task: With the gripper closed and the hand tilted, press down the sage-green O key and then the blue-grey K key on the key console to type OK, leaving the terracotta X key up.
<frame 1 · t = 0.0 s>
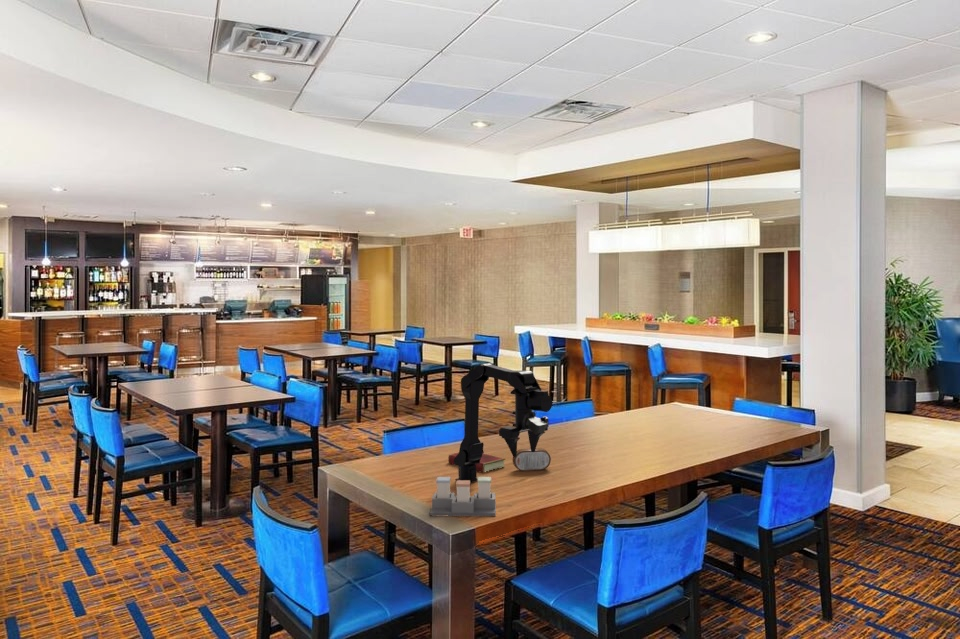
hand: (523, 454, 222), 15 cm above the table, tool pointing down, fingers open, 9 cm apart
key K: (443, 489, 211), point 6 cm above the table, slide at 0.0 cm
key O: (484, 489, 211), point 6 cm above the table, slide at 0.0 cm
tin: (531, 470, 257), on the table
key console: (464, 508, 211), on the table
hardcover book: (476, 466, 265), on the table
key X: (463, 493, 207), point 6 cm above the table, slide at 0.0 cm
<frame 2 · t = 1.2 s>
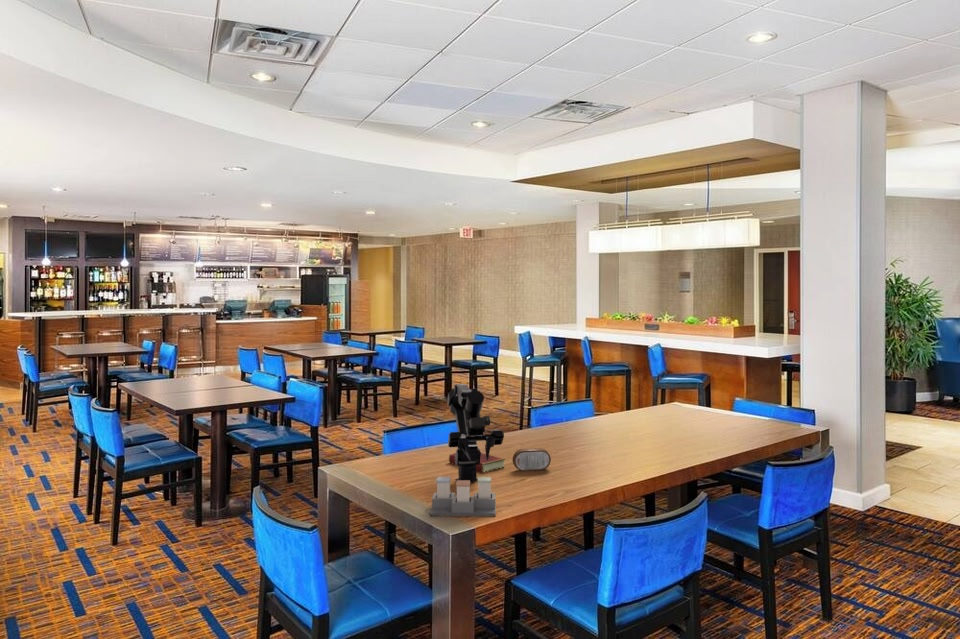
hand: (479, 460, 219), 14 cm above the table, tool tilted 45°, fingers open, 5 cm apart
nothing on the table moved.
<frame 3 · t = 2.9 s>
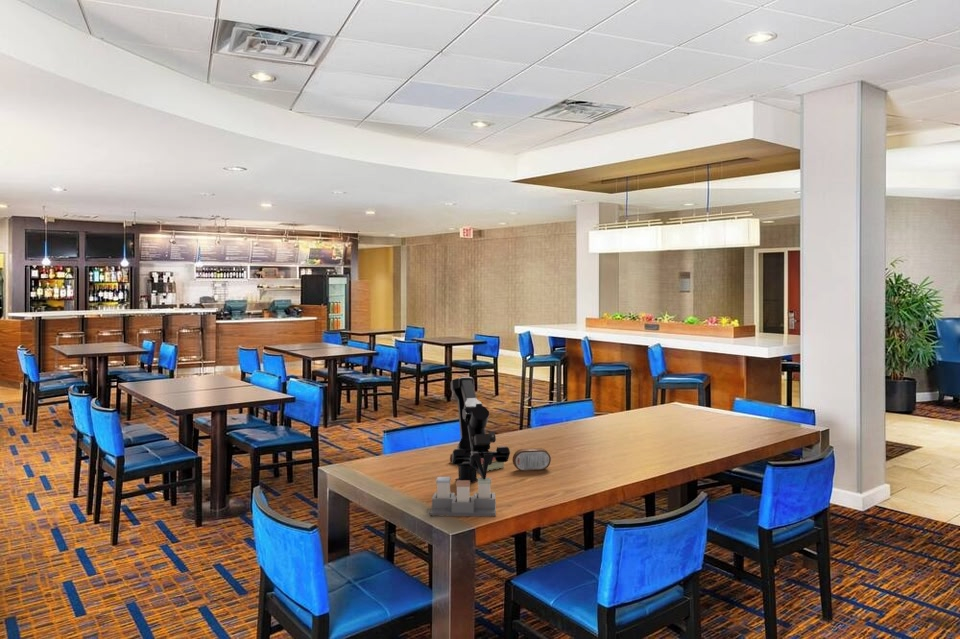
hand: (484, 478, 211), 10 cm above the table, tool tilted 45°, fingers closed, pressing on key O
key O: (484, 490, 211), point 6 cm above the table, slide at 0.2 cm, touching gripper
everything else where it was.
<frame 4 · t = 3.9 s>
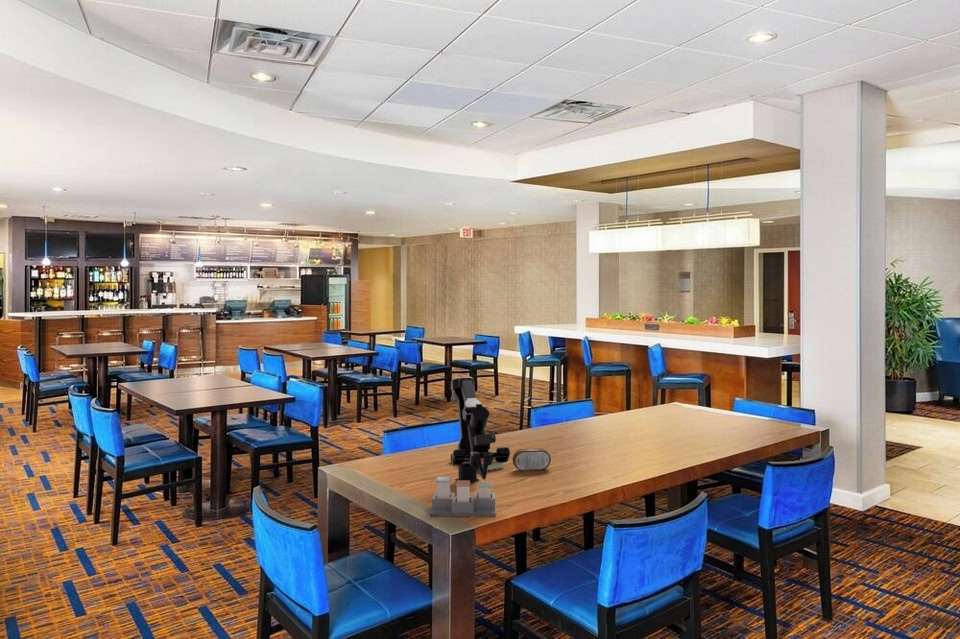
hand: (484, 478, 211), 10 cm above the table, tool tilted 45°, fingers closed
key O: (484, 494, 211), point 5 cm above the table, slide at 1.6 cm
everything else where it was.
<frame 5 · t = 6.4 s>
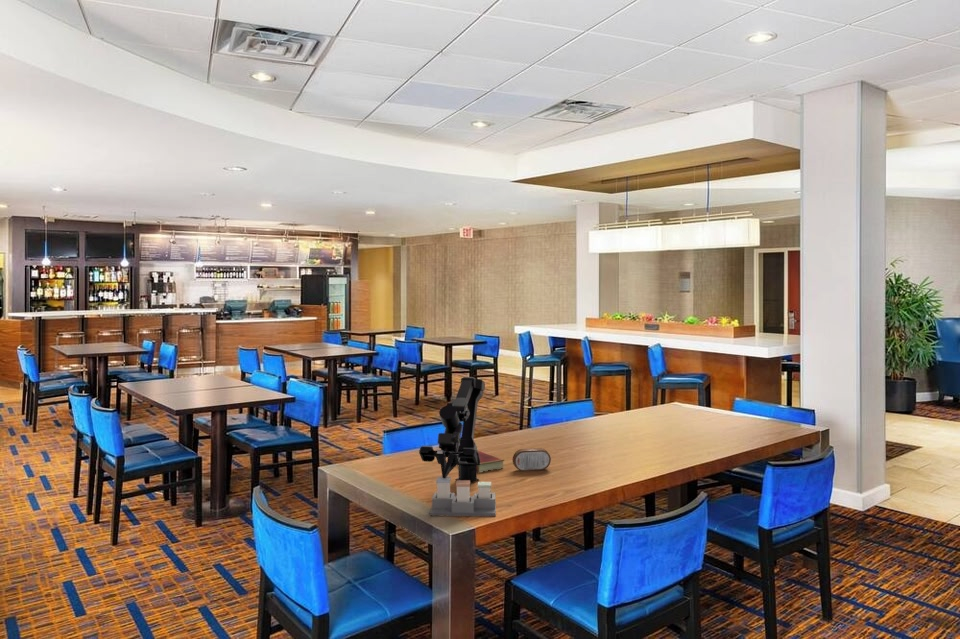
hand: (443, 477, 211), 10 cm above the table, tool tilted 45°, fingers closed, pressing on key K
key K: (443, 489, 211), point 6 cm above the table, slide at 0.0 cm, touching gripper
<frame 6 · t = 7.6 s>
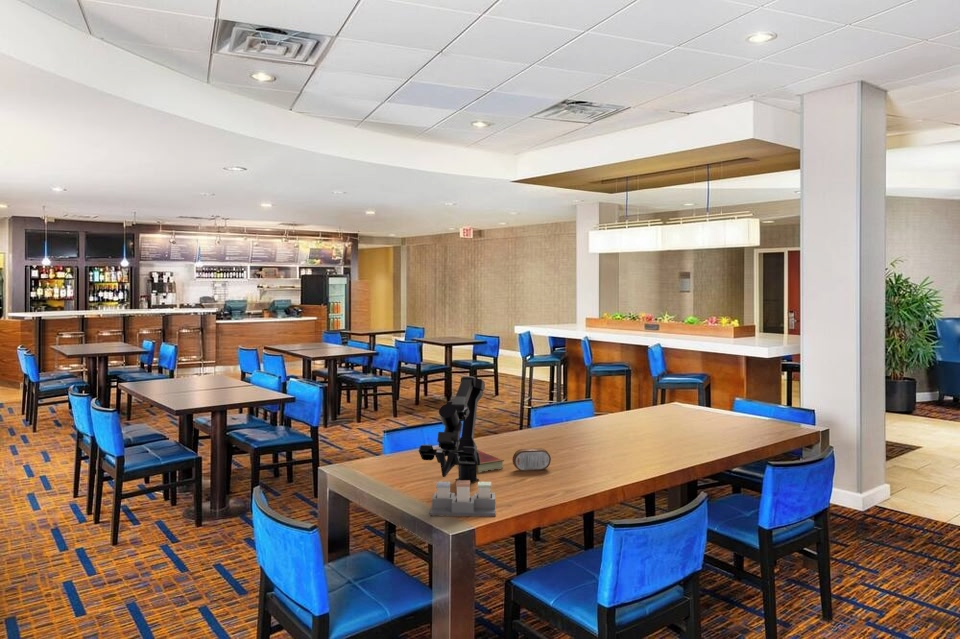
hand: (443, 476, 211), 10 cm above the table, tool tilted 45°, fingers closed
key K: (443, 494, 211), point 5 cm above the table, slide at 1.6 cm
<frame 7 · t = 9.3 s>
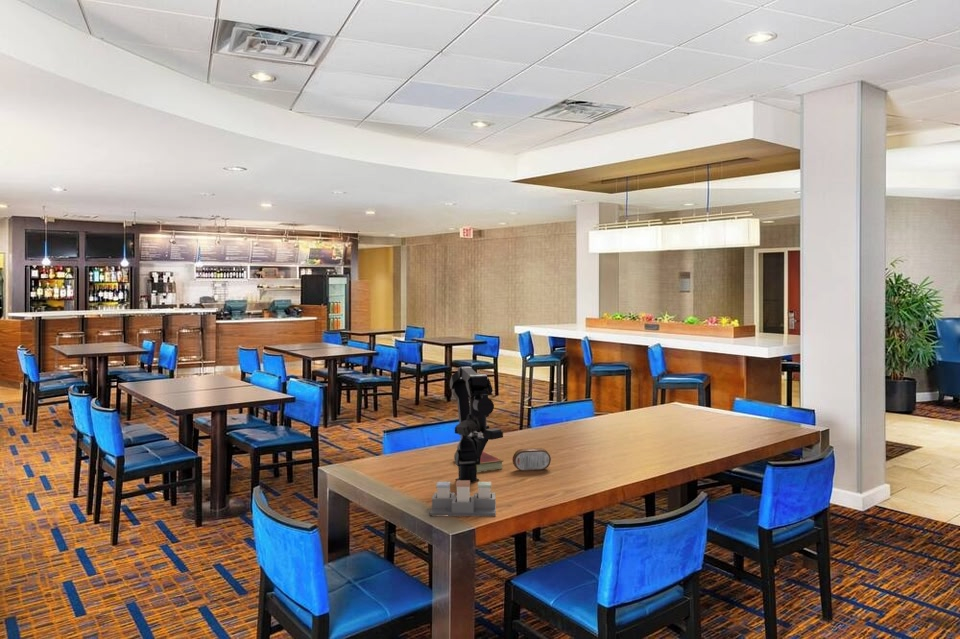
hand: (478, 456, 225), 13 cm above the table, tool pointing down, fingers closed
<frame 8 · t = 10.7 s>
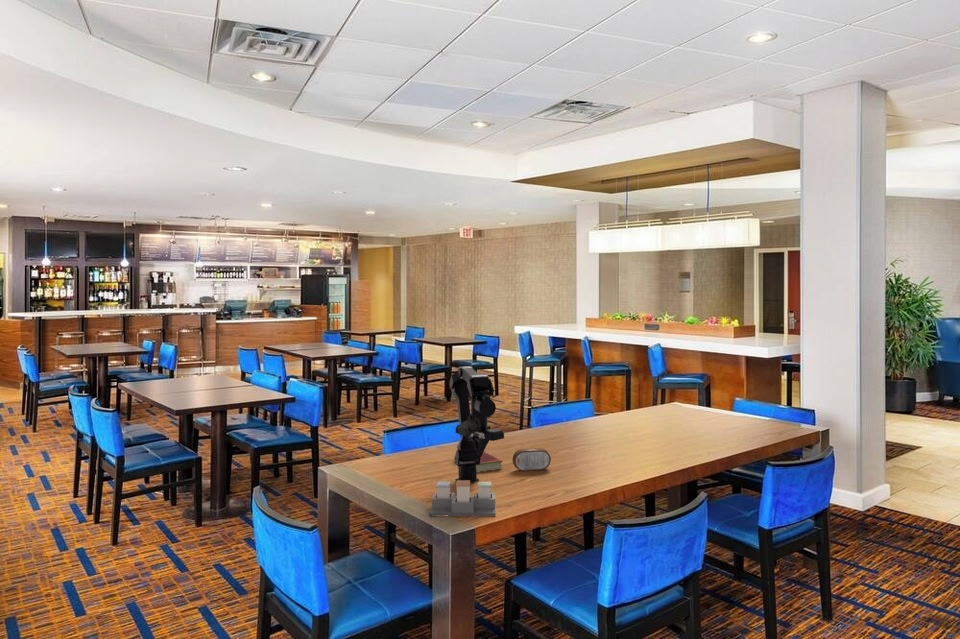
hand: (479, 456, 226), 13 cm above the table, tool pointing down, fingers closed
at the end: key O slide at 1.6 cm; key K slide at 1.6 cm; key X slide at 0.0 cm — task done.
